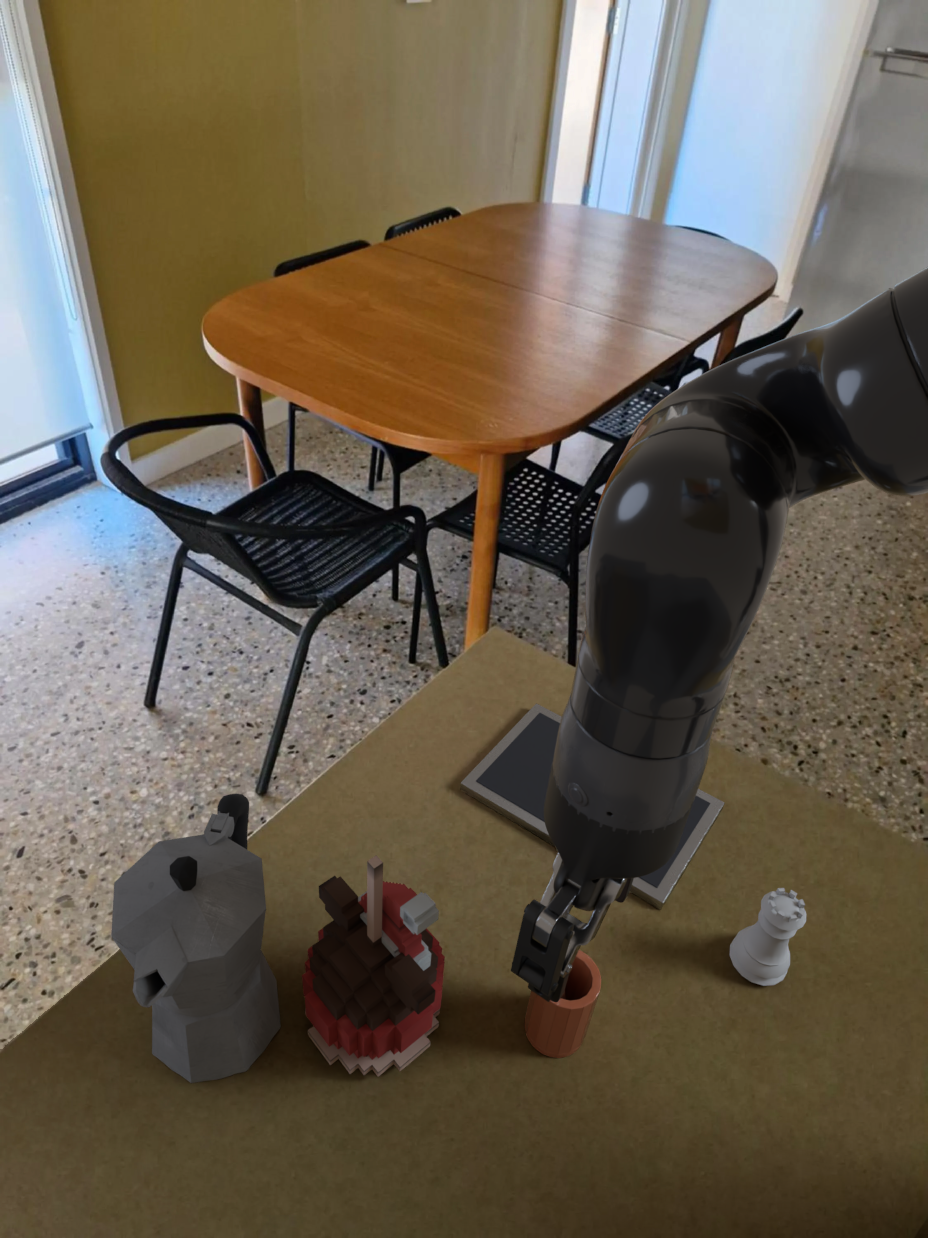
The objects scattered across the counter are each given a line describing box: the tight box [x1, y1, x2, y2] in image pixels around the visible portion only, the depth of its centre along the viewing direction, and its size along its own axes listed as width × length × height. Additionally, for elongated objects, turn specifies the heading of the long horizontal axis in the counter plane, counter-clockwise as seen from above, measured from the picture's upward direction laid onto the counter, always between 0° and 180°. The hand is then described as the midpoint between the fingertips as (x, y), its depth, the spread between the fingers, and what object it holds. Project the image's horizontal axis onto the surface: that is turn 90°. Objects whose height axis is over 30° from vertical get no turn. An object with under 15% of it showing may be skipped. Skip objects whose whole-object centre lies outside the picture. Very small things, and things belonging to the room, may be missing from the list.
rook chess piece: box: [729, 887, 807, 987], centre depth 66 cm, size 4×4×8 cm
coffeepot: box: [110, 793, 282, 1084], centre depth 58 cm, size 15×9×18 cm, turn 172°
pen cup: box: [523, 949, 602, 1059], centre depth 62 cm, size 4×4×7 cm
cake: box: [301, 854, 446, 1078], centre depth 58 cm, size 11×9×18 cm
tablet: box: [459, 703, 725, 910], centre depth 80 cm, size 20×13×1 cm, turn 55°
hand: (579, 938), depth 56 cm, fingers open, 8 cm apart
